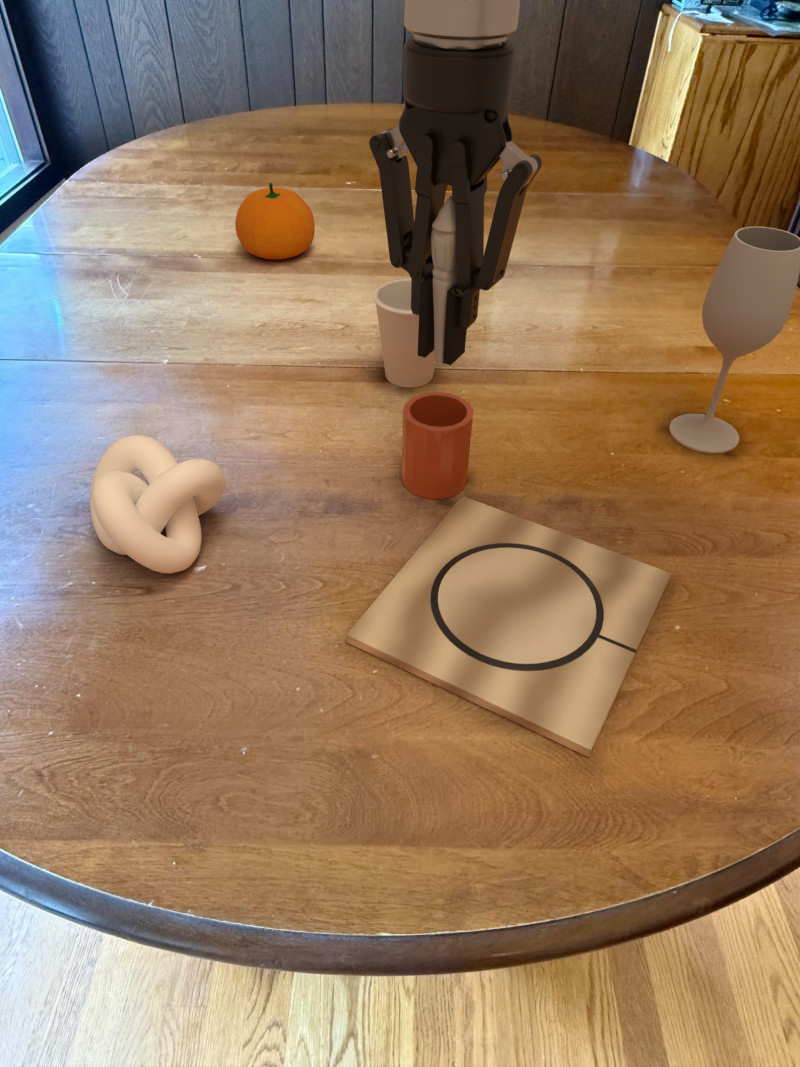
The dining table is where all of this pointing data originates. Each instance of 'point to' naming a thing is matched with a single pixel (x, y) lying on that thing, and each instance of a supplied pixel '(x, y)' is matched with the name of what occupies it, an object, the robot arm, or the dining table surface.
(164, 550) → the beige decorative knot
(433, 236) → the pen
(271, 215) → the fruit
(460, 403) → the pen pot
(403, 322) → the dixie cup
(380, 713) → the dining table surface
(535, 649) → the drawing board
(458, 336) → the robot arm
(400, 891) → the dining table surface
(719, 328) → the wineglass
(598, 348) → the dining table surface
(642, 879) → the dining table surface
